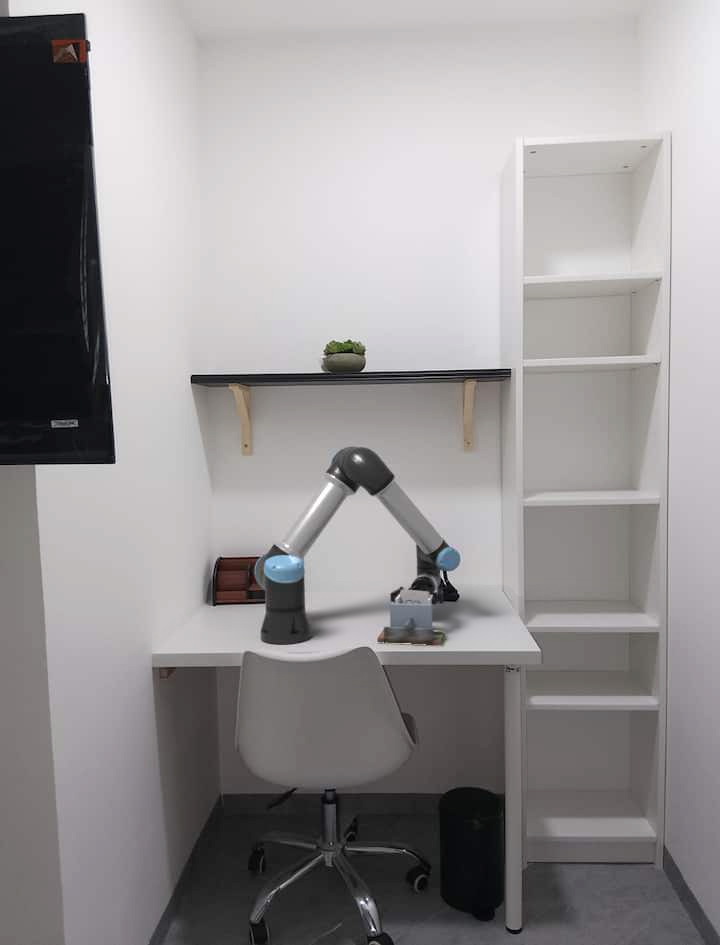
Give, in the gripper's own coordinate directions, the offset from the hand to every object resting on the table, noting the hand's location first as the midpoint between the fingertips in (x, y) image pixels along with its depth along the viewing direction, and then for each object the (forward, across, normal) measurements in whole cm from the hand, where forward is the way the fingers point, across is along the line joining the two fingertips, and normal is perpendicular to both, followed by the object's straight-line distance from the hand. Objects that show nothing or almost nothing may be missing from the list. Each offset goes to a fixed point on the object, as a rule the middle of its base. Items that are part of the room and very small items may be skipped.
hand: (412, 604), depth 210 cm
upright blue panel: (+7, -1, -8) cm, 10 cm away
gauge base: (+3, 0, -10) cm, 10 cm away
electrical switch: (-4, 0, -6) cm, 8 cm away
